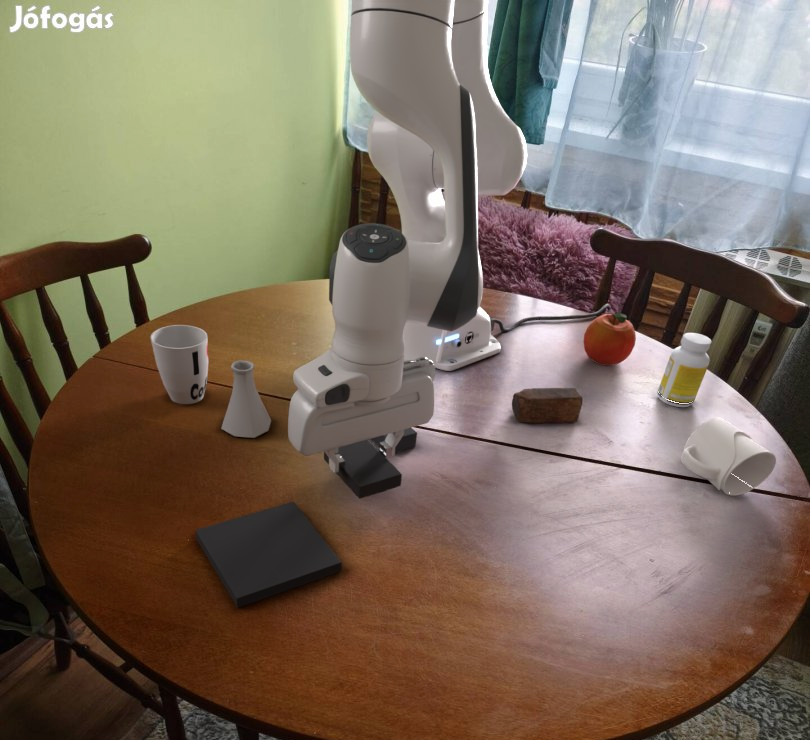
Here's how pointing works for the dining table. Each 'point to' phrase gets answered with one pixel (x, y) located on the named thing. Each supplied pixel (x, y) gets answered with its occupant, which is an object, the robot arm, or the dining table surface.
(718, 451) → the mug
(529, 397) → the brick
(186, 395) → the cup
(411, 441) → the top pad
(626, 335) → the fruit
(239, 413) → the flask
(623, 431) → the dining table surface
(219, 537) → the base pad
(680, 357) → the pill bottle
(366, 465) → the medium pad
